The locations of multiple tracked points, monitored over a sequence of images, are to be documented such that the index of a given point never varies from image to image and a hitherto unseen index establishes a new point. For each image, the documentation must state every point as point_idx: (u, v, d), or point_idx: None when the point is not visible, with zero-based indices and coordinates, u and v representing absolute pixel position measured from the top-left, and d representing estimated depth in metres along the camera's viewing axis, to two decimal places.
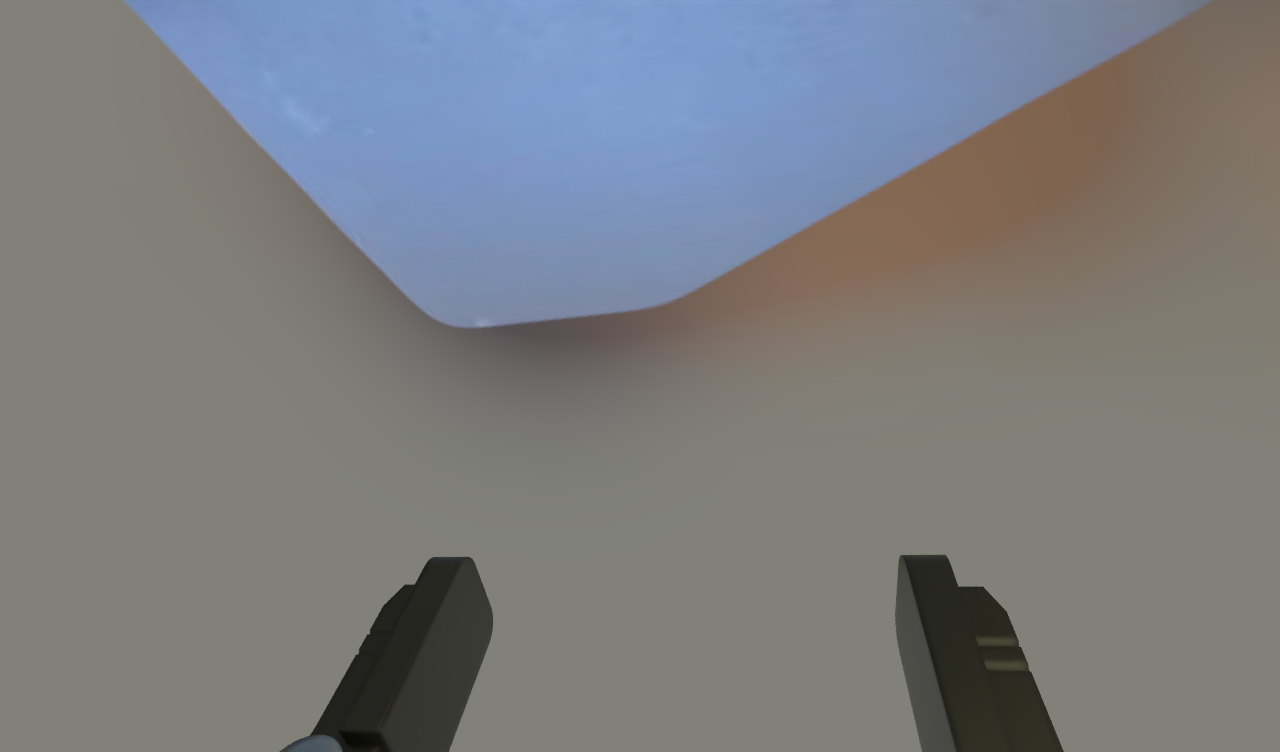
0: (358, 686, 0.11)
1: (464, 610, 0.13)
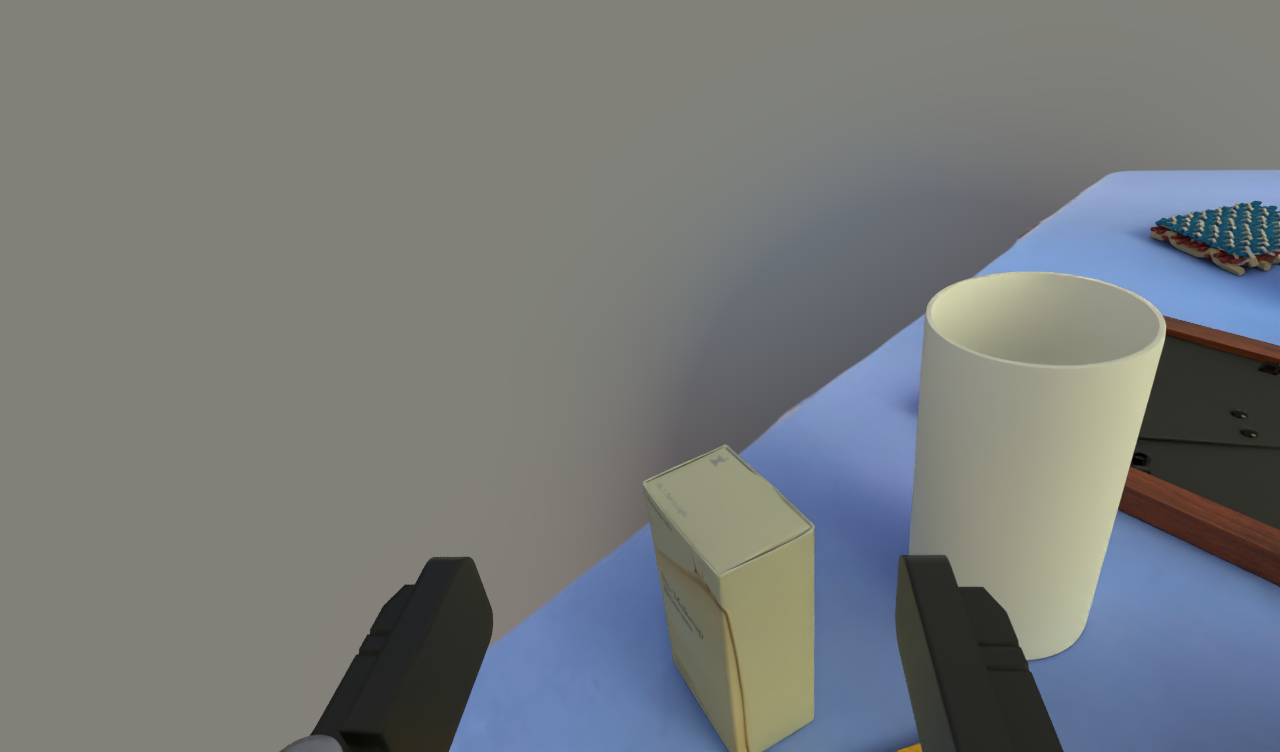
0: (358, 686, 0.11)
1: (464, 610, 0.13)
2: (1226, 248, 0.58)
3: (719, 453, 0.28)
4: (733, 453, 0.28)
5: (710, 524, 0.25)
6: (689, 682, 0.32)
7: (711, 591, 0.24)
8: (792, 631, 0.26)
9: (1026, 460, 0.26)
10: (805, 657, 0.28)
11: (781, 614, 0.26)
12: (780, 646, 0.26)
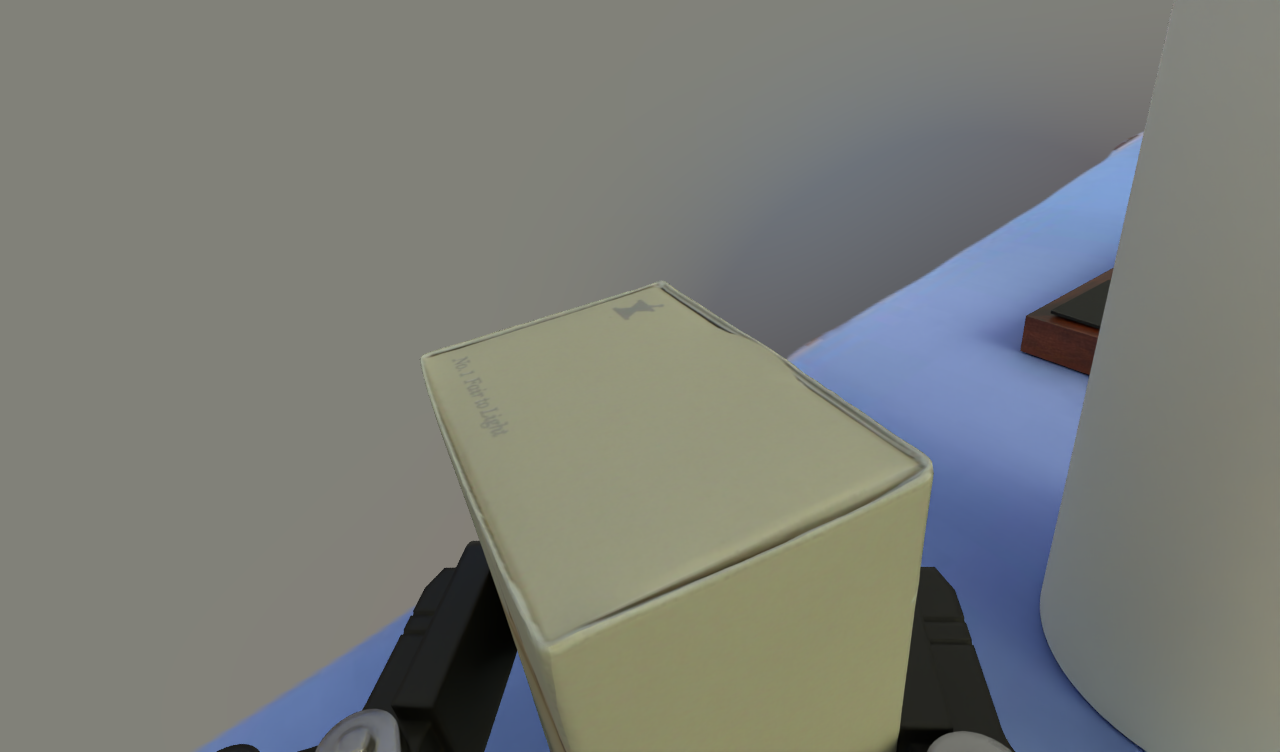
0: (405, 664, 0.11)
1: None
2: None
3: (641, 296, 0.11)
4: (678, 296, 0.11)
5: (569, 457, 0.07)
6: None
7: (544, 697, 0.06)
8: None
9: None
10: None
11: None
12: None
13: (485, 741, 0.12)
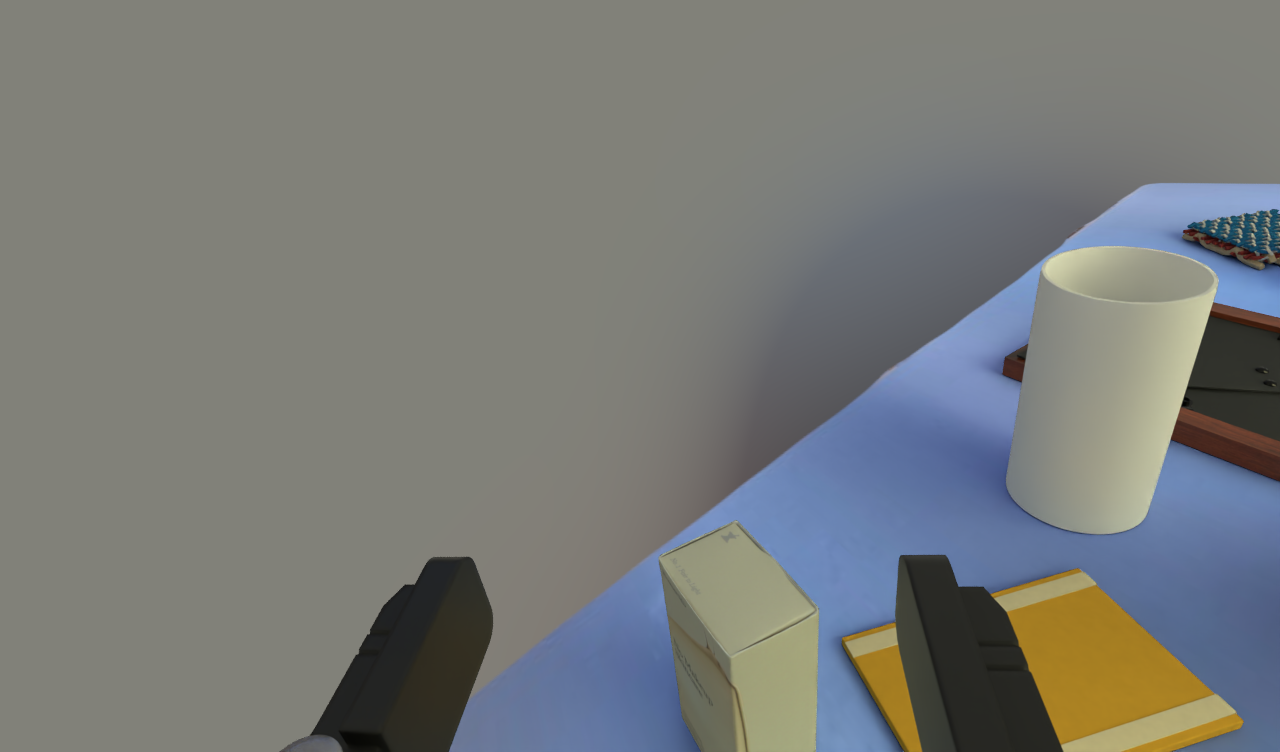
0: (358, 686, 0.11)
1: (464, 611, 0.13)
2: (1249, 247, 0.69)
3: (730, 529, 0.30)
4: (743, 529, 0.30)
5: (722, 604, 0.27)
6: (697, 739, 0.34)
7: (722, 668, 0.26)
8: (796, 702, 0.28)
9: (1118, 373, 0.37)
10: (808, 724, 0.30)
11: (786, 688, 0.27)
12: (784, 717, 0.28)
13: None
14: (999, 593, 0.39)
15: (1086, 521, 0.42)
